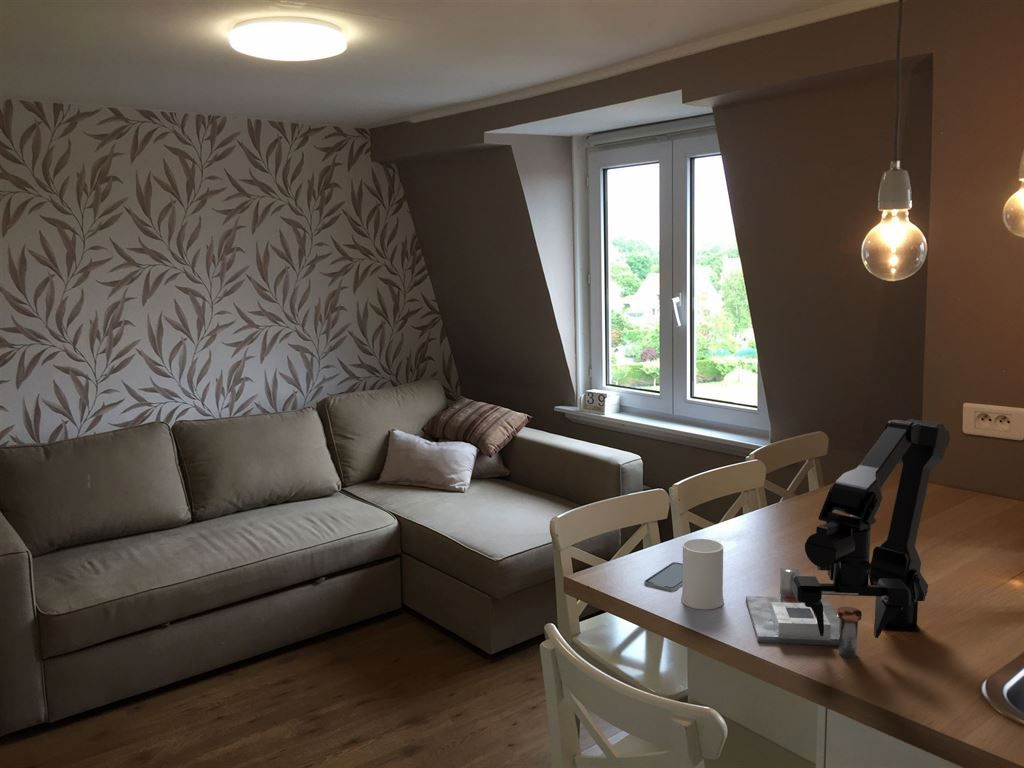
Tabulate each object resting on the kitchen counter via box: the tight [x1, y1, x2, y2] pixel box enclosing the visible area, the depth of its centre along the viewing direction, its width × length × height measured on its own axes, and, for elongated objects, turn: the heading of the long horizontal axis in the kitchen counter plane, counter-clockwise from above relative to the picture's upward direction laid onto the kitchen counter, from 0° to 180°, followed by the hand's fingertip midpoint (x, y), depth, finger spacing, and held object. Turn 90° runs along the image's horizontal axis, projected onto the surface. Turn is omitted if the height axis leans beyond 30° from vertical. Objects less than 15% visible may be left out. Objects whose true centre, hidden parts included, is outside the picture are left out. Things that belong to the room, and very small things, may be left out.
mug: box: [680, 538, 725, 611], centre depth 174 cm, size 12×8×12 cm
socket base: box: [745, 566, 840, 647], centre depth 162 cm, size 16×18×8 cm
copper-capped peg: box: [836, 606, 862, 659], centre depth 149 cm, size 4×4×8 cm
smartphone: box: [643, 561, 683, 592], centre depth 186 cm, size 7×1×15 cm
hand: (848, 636), depth 149 cm, fingers open, 9 cm apart
